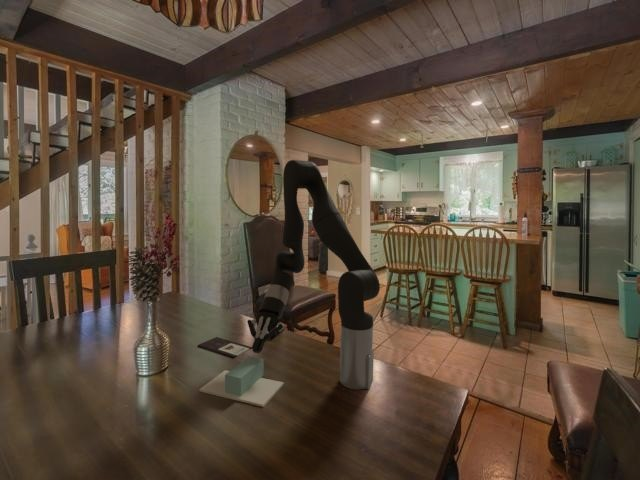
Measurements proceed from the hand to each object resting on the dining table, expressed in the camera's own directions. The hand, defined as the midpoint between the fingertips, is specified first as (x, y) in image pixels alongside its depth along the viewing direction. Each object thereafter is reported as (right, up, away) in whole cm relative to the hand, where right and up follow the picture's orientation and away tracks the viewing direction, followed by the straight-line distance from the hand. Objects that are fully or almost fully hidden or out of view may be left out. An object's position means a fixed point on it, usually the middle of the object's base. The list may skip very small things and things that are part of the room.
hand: (255, 352), depth 99 cm
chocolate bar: (-15, -6, +21) cm, 26 cm away
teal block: (0, -4, +1) cm, 4 cm away
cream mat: (-3, -8, -6) cm, 10 cm away
